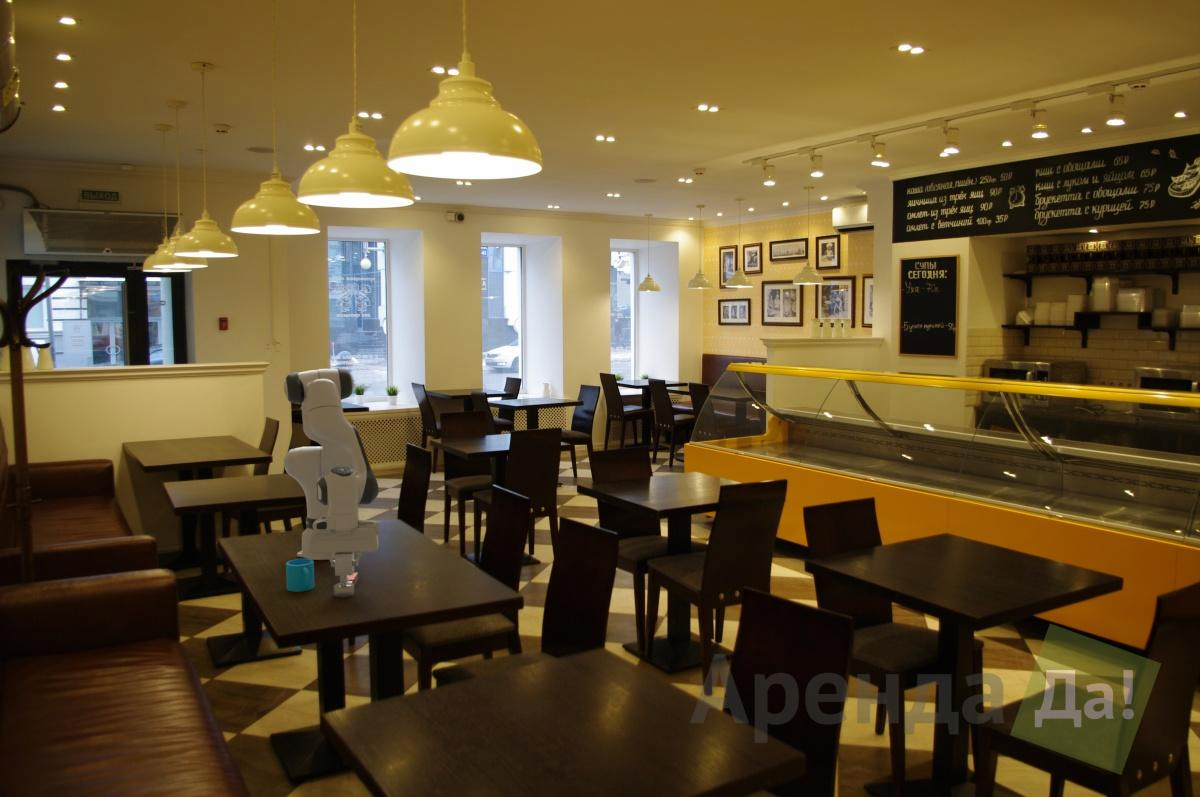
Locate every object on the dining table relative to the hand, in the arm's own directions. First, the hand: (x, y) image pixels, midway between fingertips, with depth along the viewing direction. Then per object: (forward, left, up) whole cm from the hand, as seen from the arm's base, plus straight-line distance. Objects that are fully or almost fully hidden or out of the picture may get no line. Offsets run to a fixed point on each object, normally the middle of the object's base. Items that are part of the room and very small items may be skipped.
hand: (344, 566), depth 271 cm
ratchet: (-6, 0, -9) cm, 11 cm away
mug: (-7, -14, -9) cm, 18 cm away
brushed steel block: (0, 0, -2) cm, 2 cm away
